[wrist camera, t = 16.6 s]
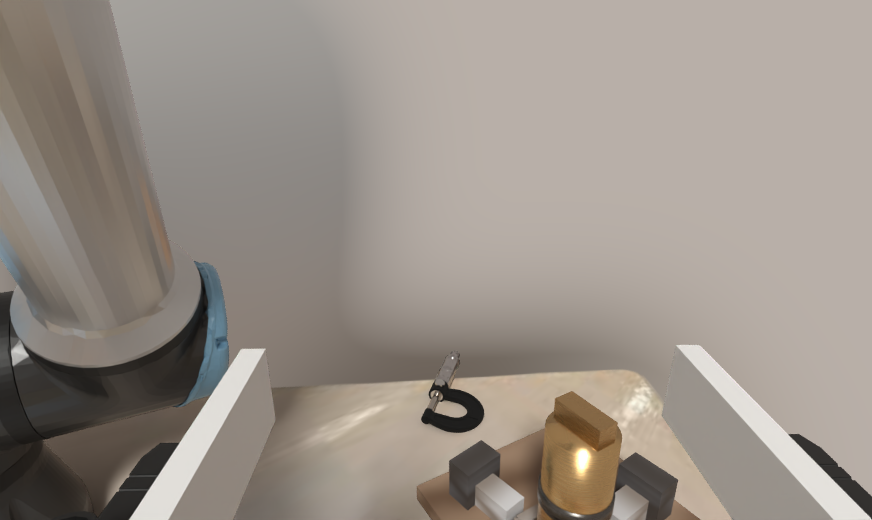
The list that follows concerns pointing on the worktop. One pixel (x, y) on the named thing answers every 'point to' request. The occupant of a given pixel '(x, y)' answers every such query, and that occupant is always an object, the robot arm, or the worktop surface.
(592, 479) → the coupling
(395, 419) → the worktop surface
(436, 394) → the micrometer
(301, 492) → the worktop surface
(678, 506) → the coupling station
